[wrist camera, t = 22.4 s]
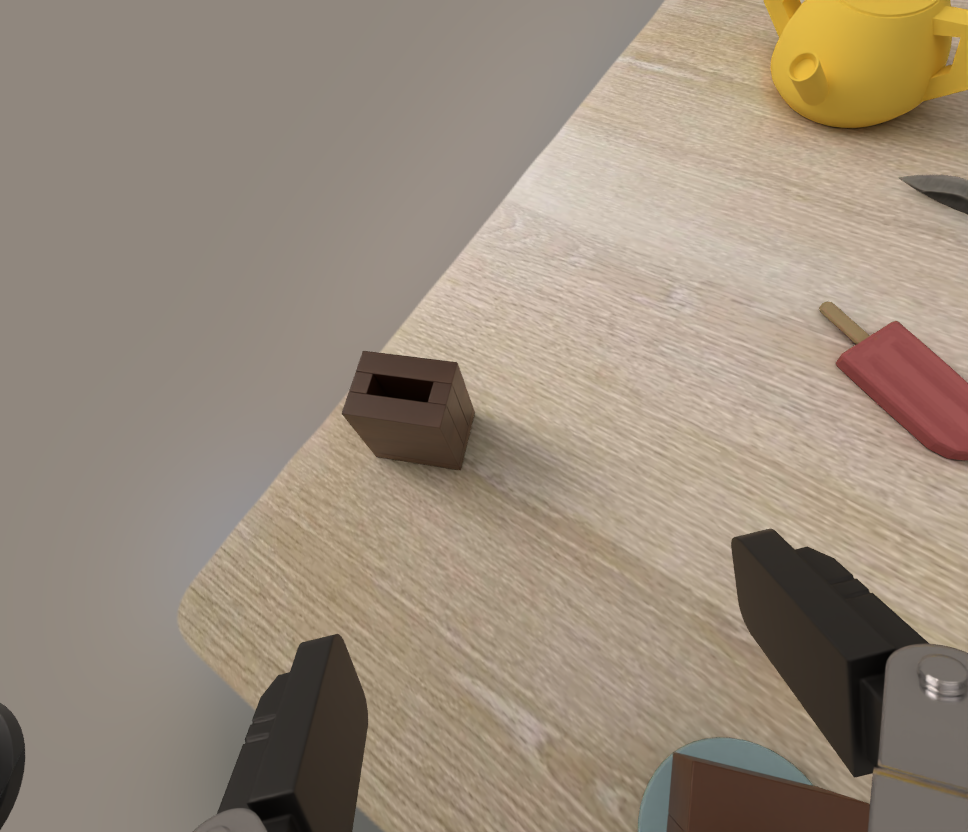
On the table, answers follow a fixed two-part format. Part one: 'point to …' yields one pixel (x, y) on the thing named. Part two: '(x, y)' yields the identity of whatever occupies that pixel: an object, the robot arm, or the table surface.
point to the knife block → (411, 409)
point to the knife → (942, 189)
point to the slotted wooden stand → (741, 794)
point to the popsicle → (907, 383)
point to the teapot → (866, 57)
